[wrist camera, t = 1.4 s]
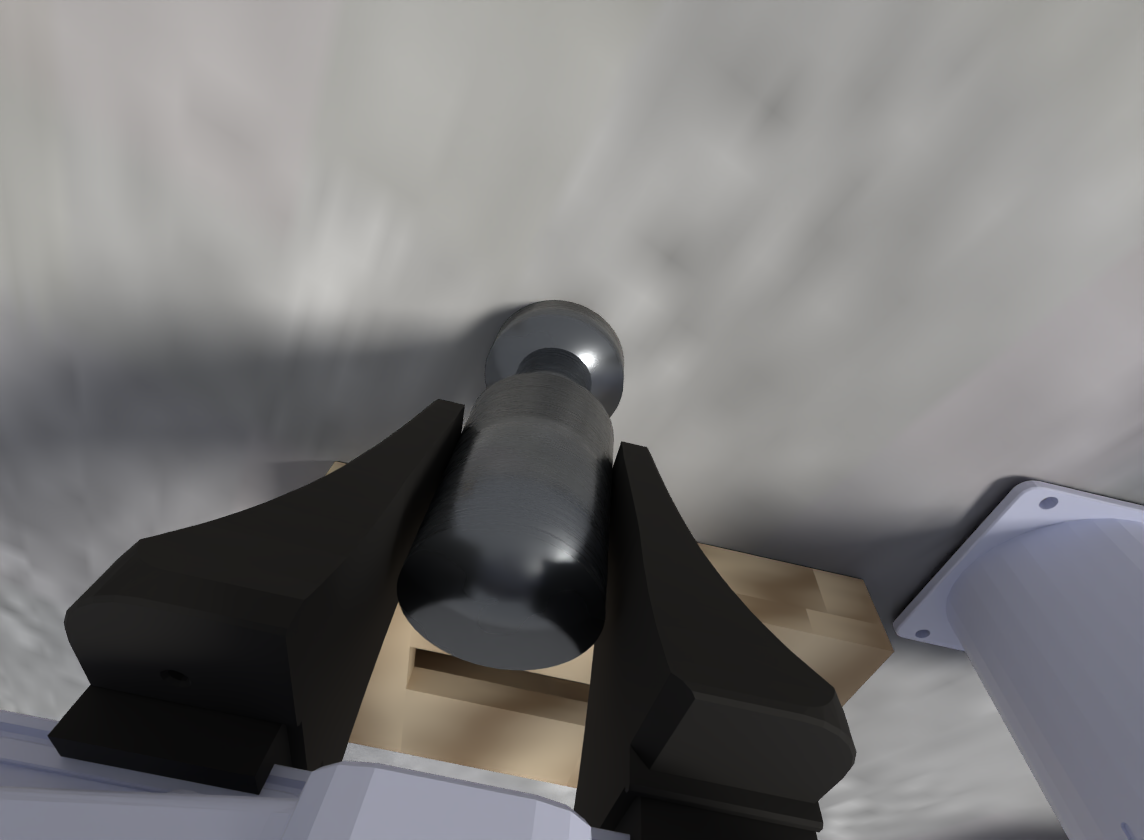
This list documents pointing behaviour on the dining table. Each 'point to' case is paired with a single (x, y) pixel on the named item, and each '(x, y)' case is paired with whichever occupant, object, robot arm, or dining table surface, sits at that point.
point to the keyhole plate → (558, 707)
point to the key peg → (524, 500)
